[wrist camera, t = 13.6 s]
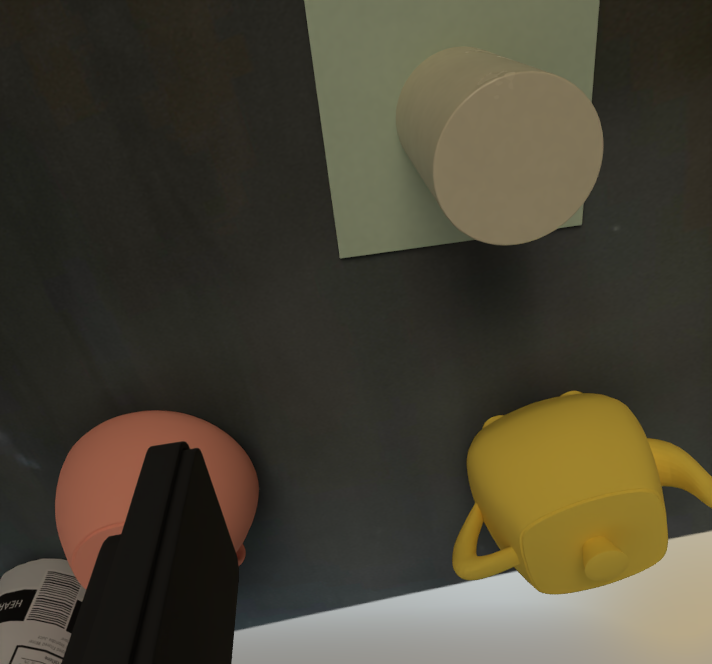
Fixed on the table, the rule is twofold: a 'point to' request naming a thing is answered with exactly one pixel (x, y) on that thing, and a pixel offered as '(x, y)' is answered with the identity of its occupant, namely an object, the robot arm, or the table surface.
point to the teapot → (571, 494)
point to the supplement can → (38, 611)
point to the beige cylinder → (499, 143)
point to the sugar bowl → (121, 472)
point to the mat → (383, 87)
